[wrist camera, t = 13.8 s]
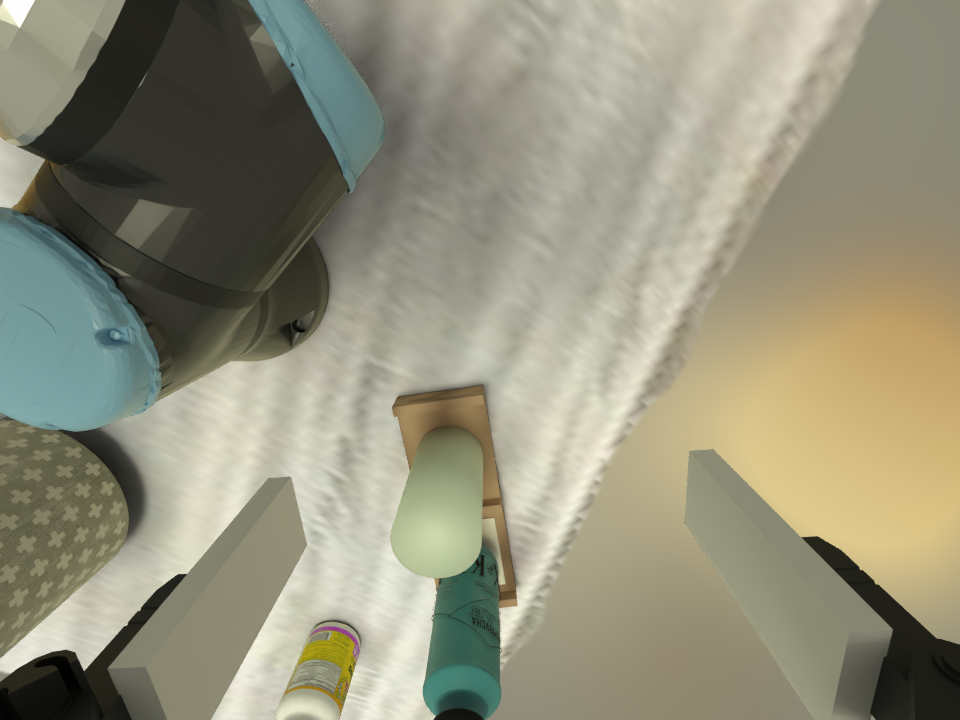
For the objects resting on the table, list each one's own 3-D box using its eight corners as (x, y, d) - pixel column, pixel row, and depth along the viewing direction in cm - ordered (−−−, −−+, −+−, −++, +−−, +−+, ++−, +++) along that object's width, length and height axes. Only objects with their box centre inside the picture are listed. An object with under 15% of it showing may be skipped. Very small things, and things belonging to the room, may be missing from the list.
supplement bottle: (348, 666, 57) (310, 787, 45) (301, 646, 57) (249, 763, 44) (371, 632, 56) (337, 747, 43) (322, 610, 55) (274, 722, 42)
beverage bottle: (484, 586, 51) (481, 804, 32) (431, 565, 50) (396, 775, 31) (509, 544, 49) (523, 747, 30) (455, 522, 49) (433, 716, 29)
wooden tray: (441, 595, 54) (439, 614, 51) (397, 397, 46) (391, 407, 44) (515, 587, 53) (517, 605, 51) (482, 385, 46) (482, 394, 43)
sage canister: (423, 489, 48) (400, 582, 35) (410, 430, 46) (381, 507, 33) (487, 480, 47) (488, 572, 35) (477, 421, 45) (473, 496, 33)
